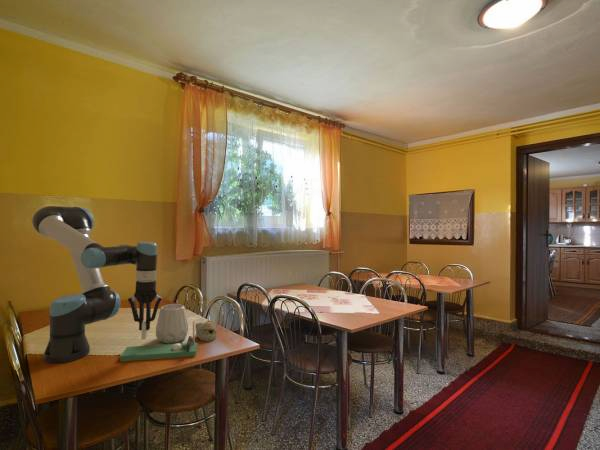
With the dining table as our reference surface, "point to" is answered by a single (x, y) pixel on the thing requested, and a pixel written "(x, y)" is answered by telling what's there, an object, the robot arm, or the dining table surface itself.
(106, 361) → the dining table surface
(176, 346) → the ball
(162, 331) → the vase
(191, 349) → the green
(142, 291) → the robot arm
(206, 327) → the seashell
